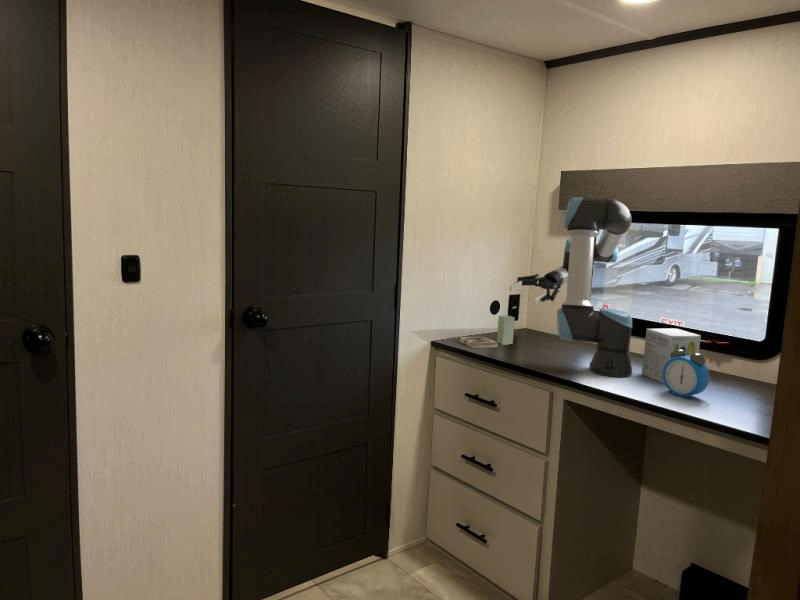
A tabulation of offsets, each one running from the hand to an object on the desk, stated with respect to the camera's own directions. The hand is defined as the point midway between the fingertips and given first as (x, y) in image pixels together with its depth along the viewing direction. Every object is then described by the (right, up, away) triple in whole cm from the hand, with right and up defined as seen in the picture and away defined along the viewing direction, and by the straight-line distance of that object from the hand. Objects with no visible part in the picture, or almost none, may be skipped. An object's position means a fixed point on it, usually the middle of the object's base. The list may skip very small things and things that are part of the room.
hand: (522, 295), depth 255 cm
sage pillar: (-5, -21, +12) cm, 25 cm away
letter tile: (-17, -21, +8) cm, 28 cm away
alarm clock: (+42, -34, -54) cm, 77 cm away
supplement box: (+46, -31, -34) cm, 65 cm away
